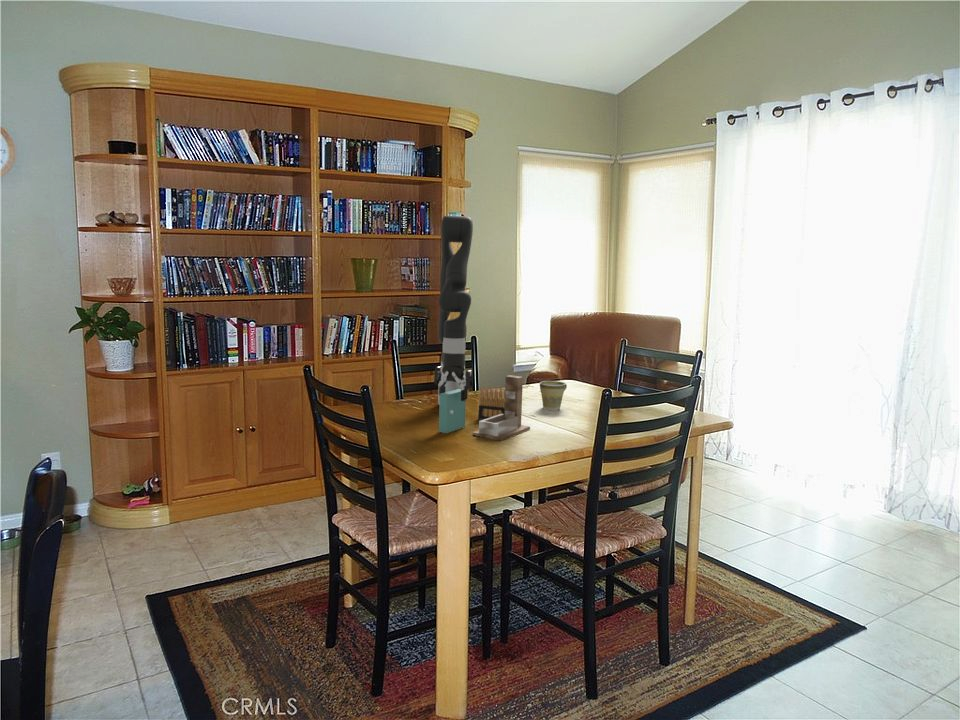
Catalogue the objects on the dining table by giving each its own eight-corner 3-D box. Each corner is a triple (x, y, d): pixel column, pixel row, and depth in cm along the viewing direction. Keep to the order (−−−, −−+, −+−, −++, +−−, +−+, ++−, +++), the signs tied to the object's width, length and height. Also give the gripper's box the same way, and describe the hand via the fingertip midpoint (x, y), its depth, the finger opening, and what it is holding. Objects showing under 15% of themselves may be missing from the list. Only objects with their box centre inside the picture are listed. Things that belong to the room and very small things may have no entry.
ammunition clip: (507, 420, 263) (509, 387, 261) (506, 421, 261) (507, 388, 259) (479, 417, 266) (480, 385, 265) (477, 418, 265) (478, 386, 263)
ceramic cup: (552, 412, 278) (553, 386, 277) (533, 407, 286) (534, 382, 284) (574, 408, 287) (576, 383, 285) (556, 403, 294) (557, 379, 293)
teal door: (438, 432, 244) (439, 393, 242) (457, 426, 253) (458, 389, 251) (448, 434, 242) (449, 395, 240) (467, 427, 251) (467, 390, 249)
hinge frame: (472, 435, 241) (473, 381, 239) (502, 424, 257) (504, 373, 254) (500, 440, 235) (502, 385, 233) (530, 429, 251) (532, 377, 248)
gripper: (429, 350, 245) (429, 398, 247) (465, 354, 237) (464, 403, 239) (443, 348, 251) (442, 395, 253) (478, 352, 243) (476, 400, 246)
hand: (453, 399), depth 246 cm, fingers open, 8 cm apart
